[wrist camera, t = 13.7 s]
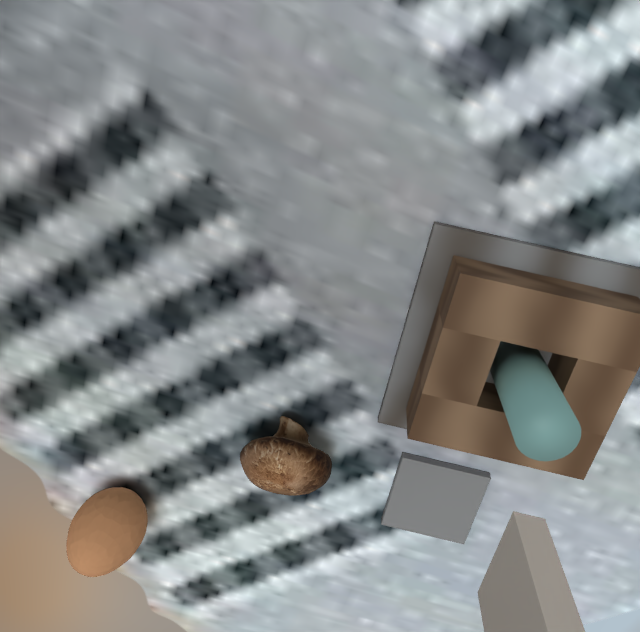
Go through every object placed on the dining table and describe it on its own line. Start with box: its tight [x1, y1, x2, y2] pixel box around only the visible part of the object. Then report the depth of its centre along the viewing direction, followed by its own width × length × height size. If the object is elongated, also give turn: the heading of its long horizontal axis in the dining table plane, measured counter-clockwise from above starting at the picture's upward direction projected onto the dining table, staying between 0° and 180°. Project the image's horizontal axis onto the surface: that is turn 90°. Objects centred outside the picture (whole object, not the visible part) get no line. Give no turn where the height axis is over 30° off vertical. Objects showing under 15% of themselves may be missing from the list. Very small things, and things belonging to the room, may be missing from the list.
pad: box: [381, 452, 491, 544], centre depth 52 cm, size 8×8×1 cm
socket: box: [378, 222, 640, 480], centre depth 43 cm, size 18×18×5 cm
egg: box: [67, 487, 147, 577], centre depth 52 cm, size 7×7×9 cm
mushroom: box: [240, 416, 332, 495], centre depth 49 cm, size 8×8×6 cm
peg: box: [490, 341, 581, 461], centre depth 40 cm, size 4×4×11 cm
